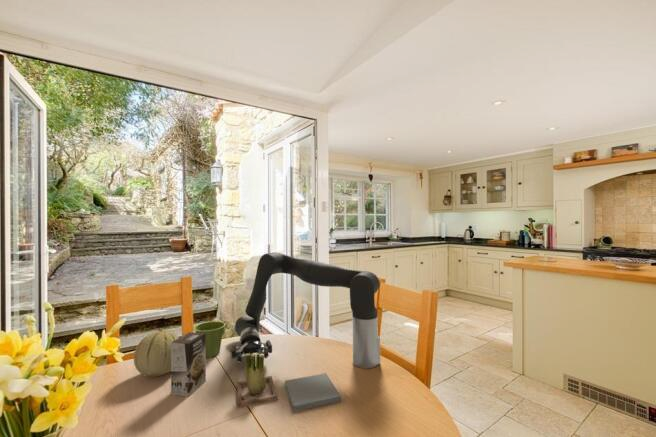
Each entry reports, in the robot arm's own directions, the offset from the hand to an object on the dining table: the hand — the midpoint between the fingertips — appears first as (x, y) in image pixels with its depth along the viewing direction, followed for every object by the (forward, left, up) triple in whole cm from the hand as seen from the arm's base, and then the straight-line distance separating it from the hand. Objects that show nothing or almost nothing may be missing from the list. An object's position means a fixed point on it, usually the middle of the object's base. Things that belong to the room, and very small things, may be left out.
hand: (253, 357), depth 103 cm
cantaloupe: (+31, -12, -6) cm, 34 cm away
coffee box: (+20, +1, -6) cm, 21 cm away
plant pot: (+15, -23, -6) cm, 28 cm away
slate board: (-16, +17, -6) cm, 24 cm away
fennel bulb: (0, +11, -6) cm, 13 cm away
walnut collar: (0, +11, -6) cm, 12 cm away
